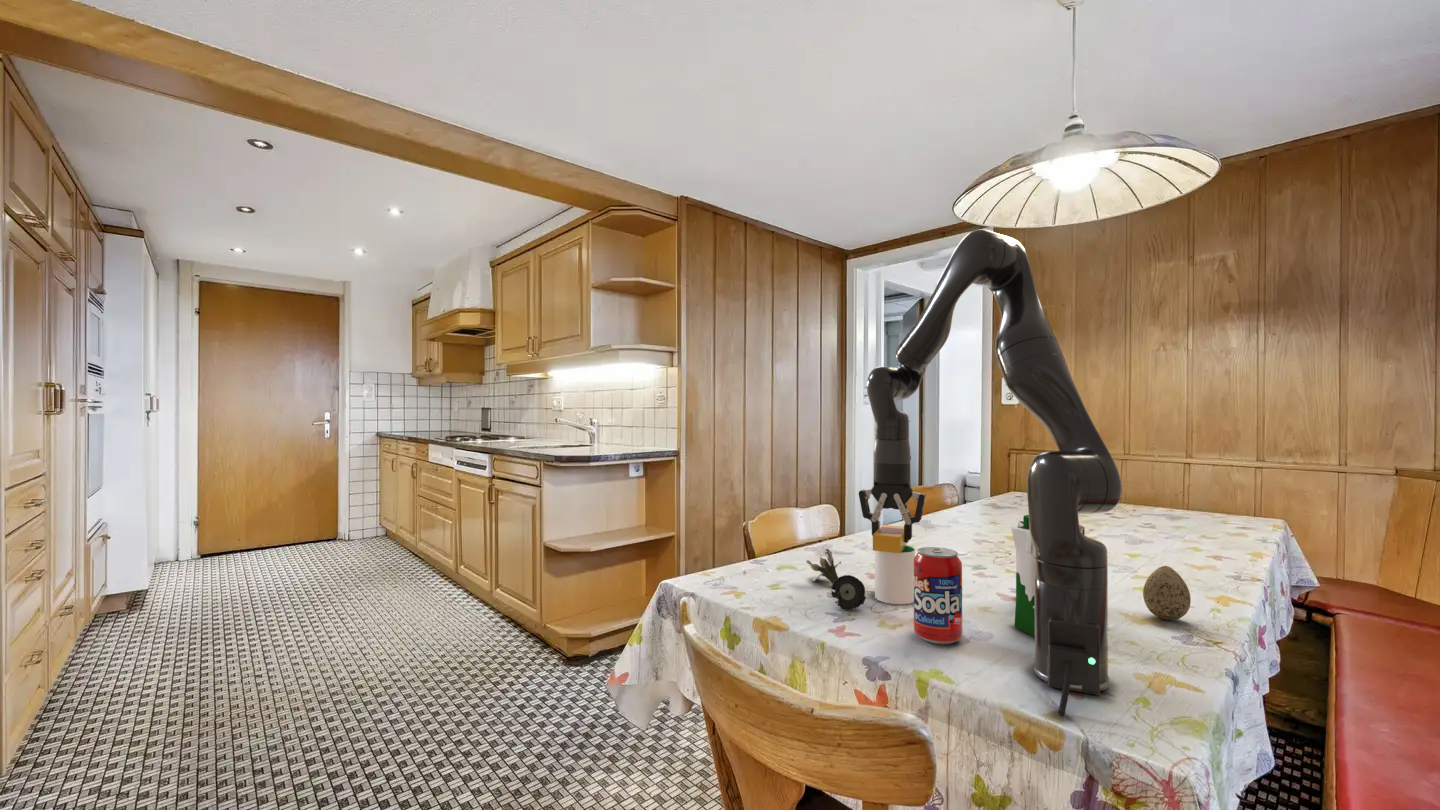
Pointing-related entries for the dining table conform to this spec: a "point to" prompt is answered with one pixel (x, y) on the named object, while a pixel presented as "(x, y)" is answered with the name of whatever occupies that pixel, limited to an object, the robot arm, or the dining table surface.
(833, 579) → the dark long pronged piece
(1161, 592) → the decorative egg
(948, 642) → the soda can
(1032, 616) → the milk carton
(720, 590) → the dining table surface
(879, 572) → the mug
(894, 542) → the tea packet
